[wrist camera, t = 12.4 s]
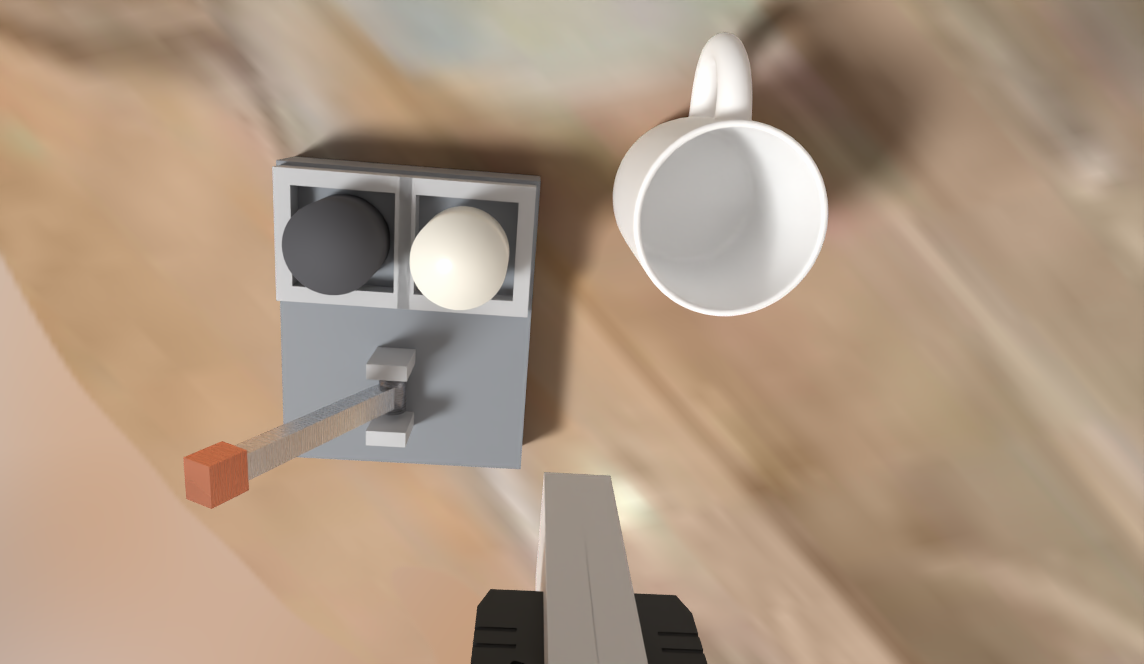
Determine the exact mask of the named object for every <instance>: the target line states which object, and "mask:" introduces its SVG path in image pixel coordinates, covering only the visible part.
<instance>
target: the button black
mask: <svg viewBox="0 0 1144 664" xmlns="http://www.w3.org/2000/svg"><path fill="white" fill-rule="evenodd" d="M389 250H390V232H389V228H388V225H387V223H386V221H385V219H384V217H383V215H382V214H381V213H380V212H379V210H378V209H377V208H376V207H375V206H374V205H372V204H371V203H370V202H368V201H366V200H365V199H363V198H360V197H358V196H355V195H350V194H334V195H330V196H327V197H325V198H322V199H320V200H318V201H316V202H313V203H311V204H309V205H306V206H304V207H303V208H301V209H299V210H298V211H297V212H296V213H295V214H294V215H293V216H292V217H291V218H290V220H289V221H288V223H287V225H286V227H285V229H284V232H283V237H282V253H283V257H284V260H285V263H286V265H287V267H288V269H289V270H290V272H291V273H292V275H293V276H294V277H295V278H296V279H297V280H298V281H299V282H300V283H301V284H302V285H304V286H305V287H307V288H309V289H310V290H312V291H315V292H317V293H321V294H325V295H343V294H347V293H350V292H353V291H355V290H357V289H358V288H360V287H361V286H363V285H364V284H365V283H366V282H367V281H368V280H369V279H370V278H371V277H372V276H373V275H374V274H375V273H376V272H377V271H378V270H379V269H380V268H381V266H382V265H383V264H384V262H385V260H386V258H387V256H388V253H389Z"/></svg>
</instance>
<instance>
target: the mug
mask: <svg viewBox="0 0 1144 664" xmlns="http://www.w3.org/2000/svg"><path fill="white" fill-rule="evenodd" d="M751 119H752V76H751V68H750V62H749V58H748V54H747V52H746V49H745V47H744V45H743V43H742V41H741V40H740V39H739V38H738V37H737V36H735V35H734V34H732V33H728V32H723V33H718V34H716V35H714V36H713V37H711V38H710V39H709V41H708V42H707V43H706V45H705V46H704V48H703V50H702V52H701V55H700V58H699V61H698V64H697V68H696V73H695V78H694V83H693V90H692V97H691V104H690V112H689V116H688V117H685V118H679V119H675V120H671V121H668V122H665V123H662V124H660V125H658V126H656V127H654V128H652V129H651V130H649V131H647V132H646V133H645V134H644V135H642V136H641V137H640V138H639V139H638V140H637V141H636V142H635V143H634V144H633V145H632V146H631V148H630V149H629V150H628V152H627V153H626V155H625V156H624V158H623V160H622V161H621V164H620V166H619V168H618V171H617V174H616V178H615V181H614V188H613V207H614V214H615V218H616V222H617V225H618V227H619V230H620V232H621V234H622V236H623V237H624V239H625V241H626V243H627V244H628V246H629V247H630V249H631V250H632V252H633V253H634V255H635V256H636V258H637V259H638V261H639V262H640V264H641V265H642V267H643V268H644V270H645V272H646V273H647V275H648V276H649V277H650V279H651V280H652V281H653V283H654V284H655V285H656V286H657V287H658V288H659V289H660V290H661V291H662V292H663V293H664V294H665V295H666V296H667V297H669V298H670V299H671V300H673V301H674V302H676V303H678V304H679V305H681V306H683V307H685V308H688V309H690V310H692V311H695V312H699V313H703V314H707V315H714V316H734V315H742V314H746V313H750V312H754V311H757V310H759V309H762V308H764V307H767V306H769V305H771V304H773V303H774V302H776V301H778V300H780V299H781V298H782V297H784V296H785V295H786V294H788V293H789V292H790V291H791V290H792V289H794V288H795V287H796V286H797V285H798V284H799V283H800V282H801V281H802V279H803V278H804V277H805V276H806V275H807V273H808V272H809V270H810V269H811V267H812V266H813V264H814V263H815V261H816V259H817V257H818V255H819V253H820V250H821V247H822V245H823V242H824V239H825V234H826V230H827V223H828V199H827V193H826V188H825V185H824V181H823V178H822V176H821V173H820V171H819V169H818V167H817V165H816V164H815V162H814V160H813V159H812V157H811V156H810V154H809V153H808V152H807V151H806V150H805V149H804V148H803V146H802V145H801V144H799V143H798V142H797V141H796V140H795V139H794V138H793V137H791V136H790V135H788V134H786V133H785V132H783V131H782V130H780V129H777V128H775V127H773V126H771V125H768V124H764V123H761V122H758V121H752V120H751Z"/></svg>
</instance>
